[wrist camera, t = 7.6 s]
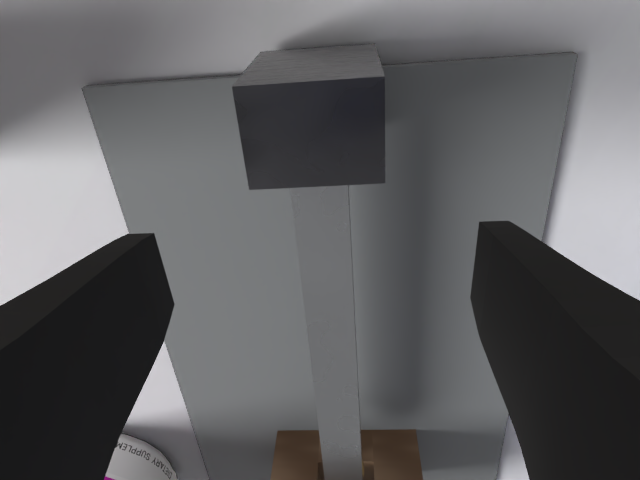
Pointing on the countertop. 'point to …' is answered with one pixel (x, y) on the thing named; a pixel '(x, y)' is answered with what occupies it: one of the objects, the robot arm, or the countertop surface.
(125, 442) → the supplement can
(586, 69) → the countertop surface
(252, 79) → the hook rod
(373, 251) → the mat
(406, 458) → the block
